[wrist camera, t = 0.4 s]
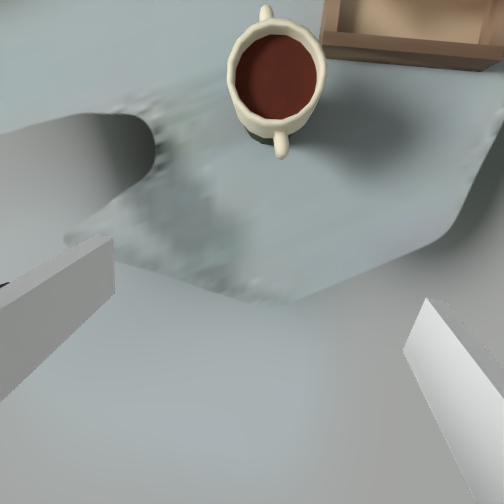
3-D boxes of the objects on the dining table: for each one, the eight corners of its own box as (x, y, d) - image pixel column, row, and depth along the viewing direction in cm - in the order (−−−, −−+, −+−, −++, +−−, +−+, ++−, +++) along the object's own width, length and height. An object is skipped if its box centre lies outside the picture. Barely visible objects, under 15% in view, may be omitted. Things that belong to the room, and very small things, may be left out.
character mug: (308, 161, 35) (335, 146, 22) (246, 171, 36) (238, 161, 23) (297, 57, 33) (319, -26, 20) (231, 68, 33) (213, -6, 21)
